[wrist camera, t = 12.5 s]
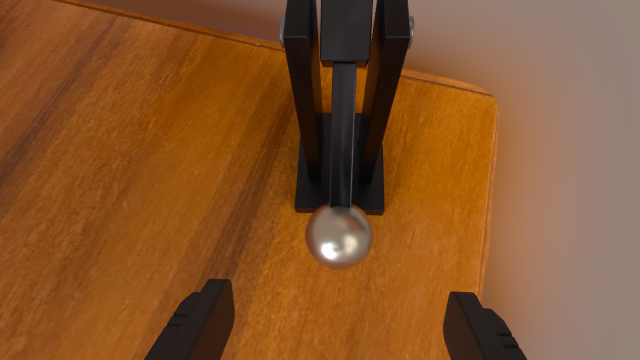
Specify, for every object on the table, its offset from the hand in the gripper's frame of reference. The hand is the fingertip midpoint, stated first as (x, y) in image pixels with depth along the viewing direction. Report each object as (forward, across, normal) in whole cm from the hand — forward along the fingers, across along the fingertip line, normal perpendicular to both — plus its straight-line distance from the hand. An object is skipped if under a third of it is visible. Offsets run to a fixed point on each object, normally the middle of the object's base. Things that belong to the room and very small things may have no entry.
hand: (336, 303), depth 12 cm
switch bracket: (+17, 0, 0) cm, 17 cm away
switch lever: (+8, 0, -4) cm, 9 cm away
